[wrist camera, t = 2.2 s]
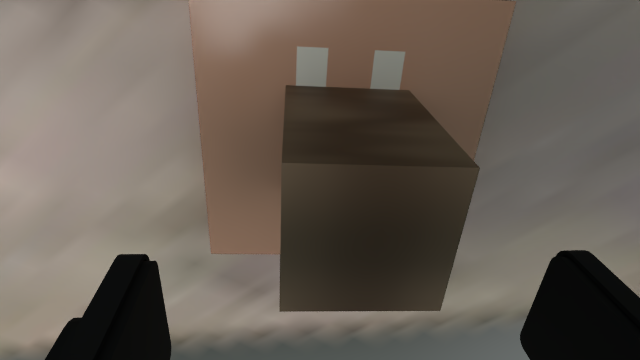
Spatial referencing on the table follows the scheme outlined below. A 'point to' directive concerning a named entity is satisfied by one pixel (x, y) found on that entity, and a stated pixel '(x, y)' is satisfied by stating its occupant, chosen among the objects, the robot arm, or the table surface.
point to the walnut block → (368, 201)
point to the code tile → (325, 85)
